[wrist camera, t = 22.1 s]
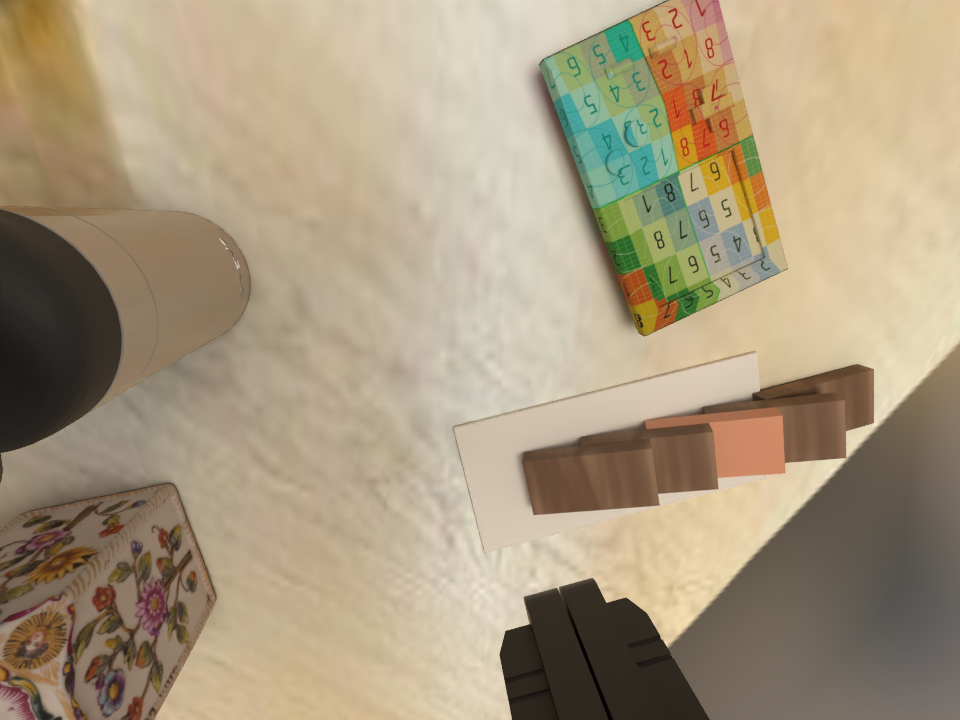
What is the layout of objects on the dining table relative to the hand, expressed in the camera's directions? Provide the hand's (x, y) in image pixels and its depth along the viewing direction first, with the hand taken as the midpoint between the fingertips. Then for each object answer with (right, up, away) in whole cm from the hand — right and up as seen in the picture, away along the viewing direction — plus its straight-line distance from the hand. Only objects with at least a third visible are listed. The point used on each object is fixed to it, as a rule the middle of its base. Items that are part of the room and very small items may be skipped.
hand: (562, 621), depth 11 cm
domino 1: (+2, -5, +33) cm, 33 cm away
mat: (+10, -3, +34) cm, 36 cm away
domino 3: (+12, -2, +33) cm, 36 cm away
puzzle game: (+11, +19, +29) cm, 37 cm away
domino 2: (+7, -4, +33) cm, 34 cm away
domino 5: (+22, 0, +34) cm, 40 cm away
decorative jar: (-30, -10, +32) cm, 45 cm away
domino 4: (+17, -1, +33) cm, 38 cm away
